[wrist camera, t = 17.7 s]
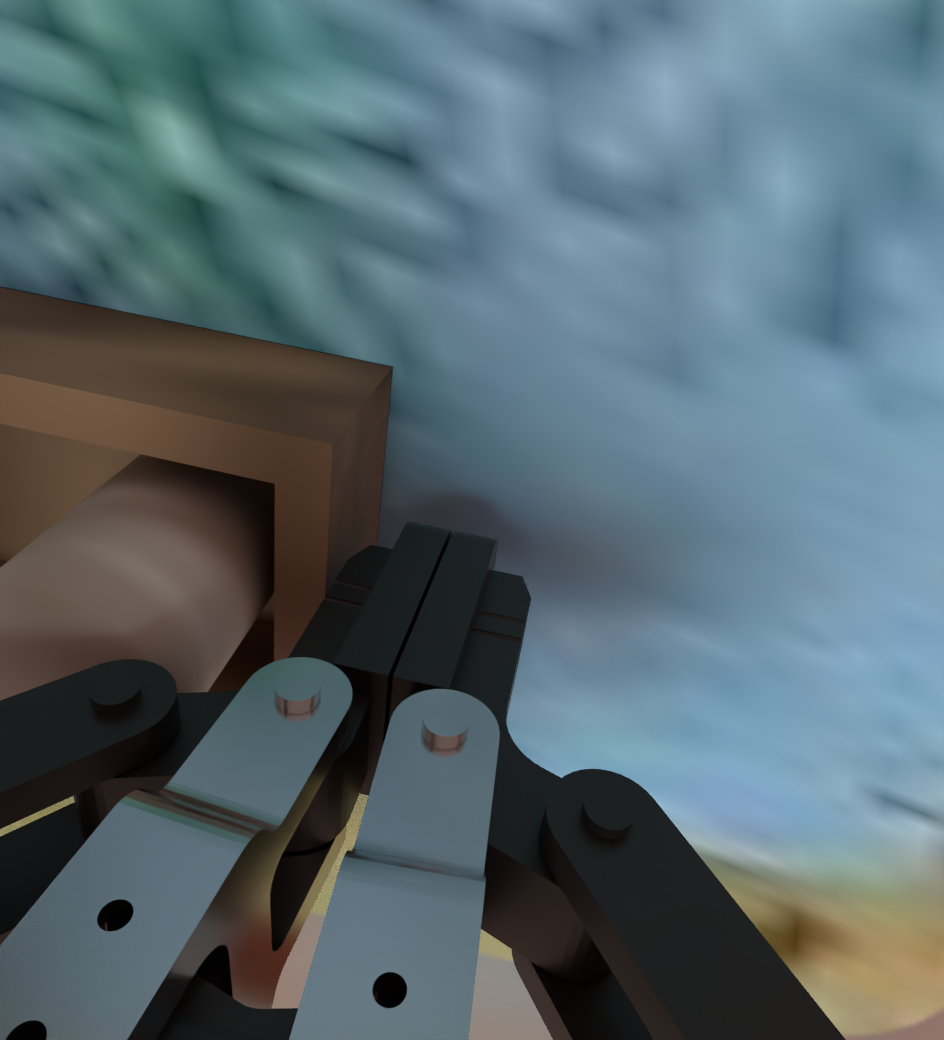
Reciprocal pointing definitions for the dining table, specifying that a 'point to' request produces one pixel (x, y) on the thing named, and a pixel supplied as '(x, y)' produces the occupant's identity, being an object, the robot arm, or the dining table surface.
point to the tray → (195, 424)
